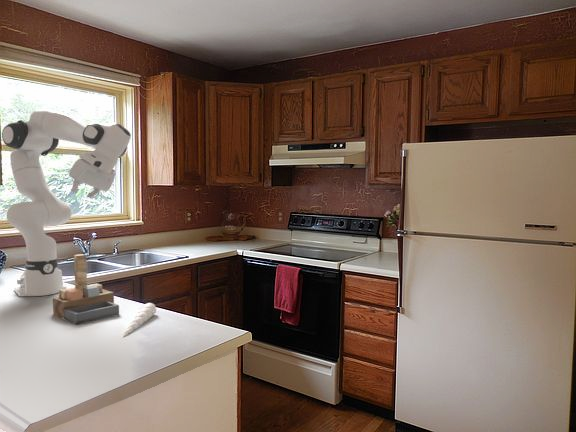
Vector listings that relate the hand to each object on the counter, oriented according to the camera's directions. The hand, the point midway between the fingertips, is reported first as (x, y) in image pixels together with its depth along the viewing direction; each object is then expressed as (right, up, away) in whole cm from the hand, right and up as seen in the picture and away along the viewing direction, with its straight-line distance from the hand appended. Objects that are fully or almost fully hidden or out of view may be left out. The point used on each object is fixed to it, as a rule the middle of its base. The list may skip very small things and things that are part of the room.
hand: (81, 194), depth 166 cm
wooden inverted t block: (+2, -37, -4) cm, 37 cm away
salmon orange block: (+2, -37, -11) cm, 39 cm away
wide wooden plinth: (+3, -43, -5) cm, 43 cm away
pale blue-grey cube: (+6, -37, -6) cm, 38 cm away
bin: (+9, -43, -12) cm, 46 cm away
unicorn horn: (+28, -44, -20) cm, 56 cm away
